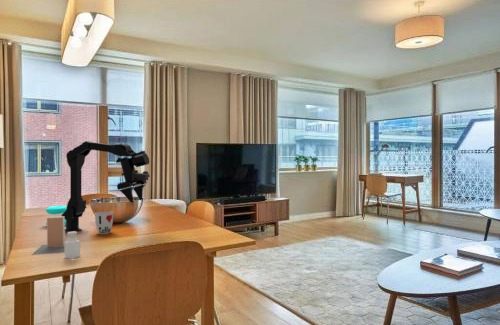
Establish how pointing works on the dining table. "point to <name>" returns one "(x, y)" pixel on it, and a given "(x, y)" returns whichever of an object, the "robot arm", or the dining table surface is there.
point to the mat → (49, 250)
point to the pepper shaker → (72, 245)
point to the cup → (104, 221)
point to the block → (55, 231)
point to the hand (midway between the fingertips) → (136, 201)
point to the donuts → (56, 210)
